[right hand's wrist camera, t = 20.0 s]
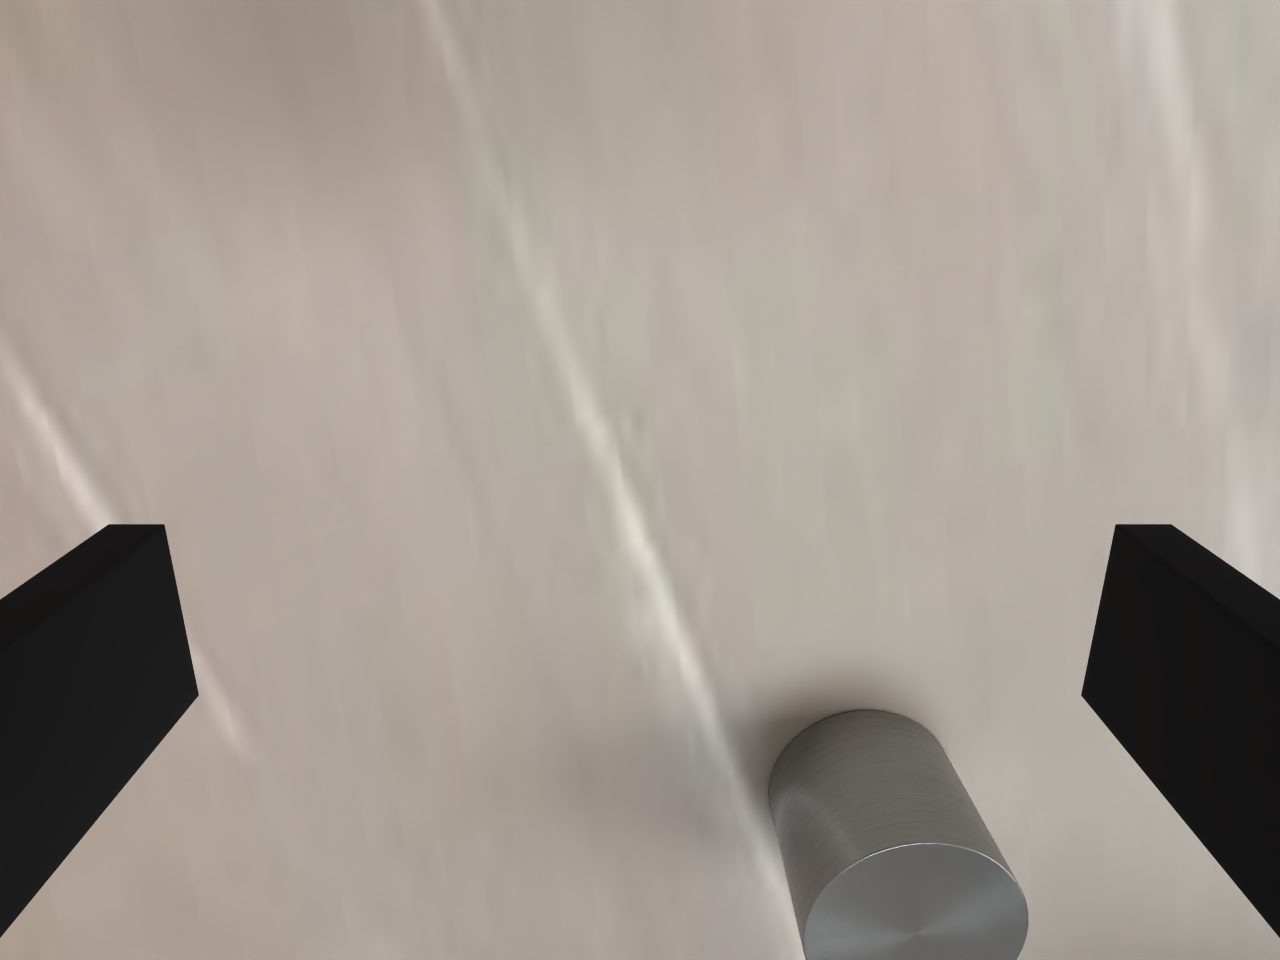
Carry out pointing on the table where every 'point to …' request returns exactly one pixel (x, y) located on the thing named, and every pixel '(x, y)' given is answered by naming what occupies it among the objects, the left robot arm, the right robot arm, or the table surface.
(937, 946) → the tin
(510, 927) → the table surface
